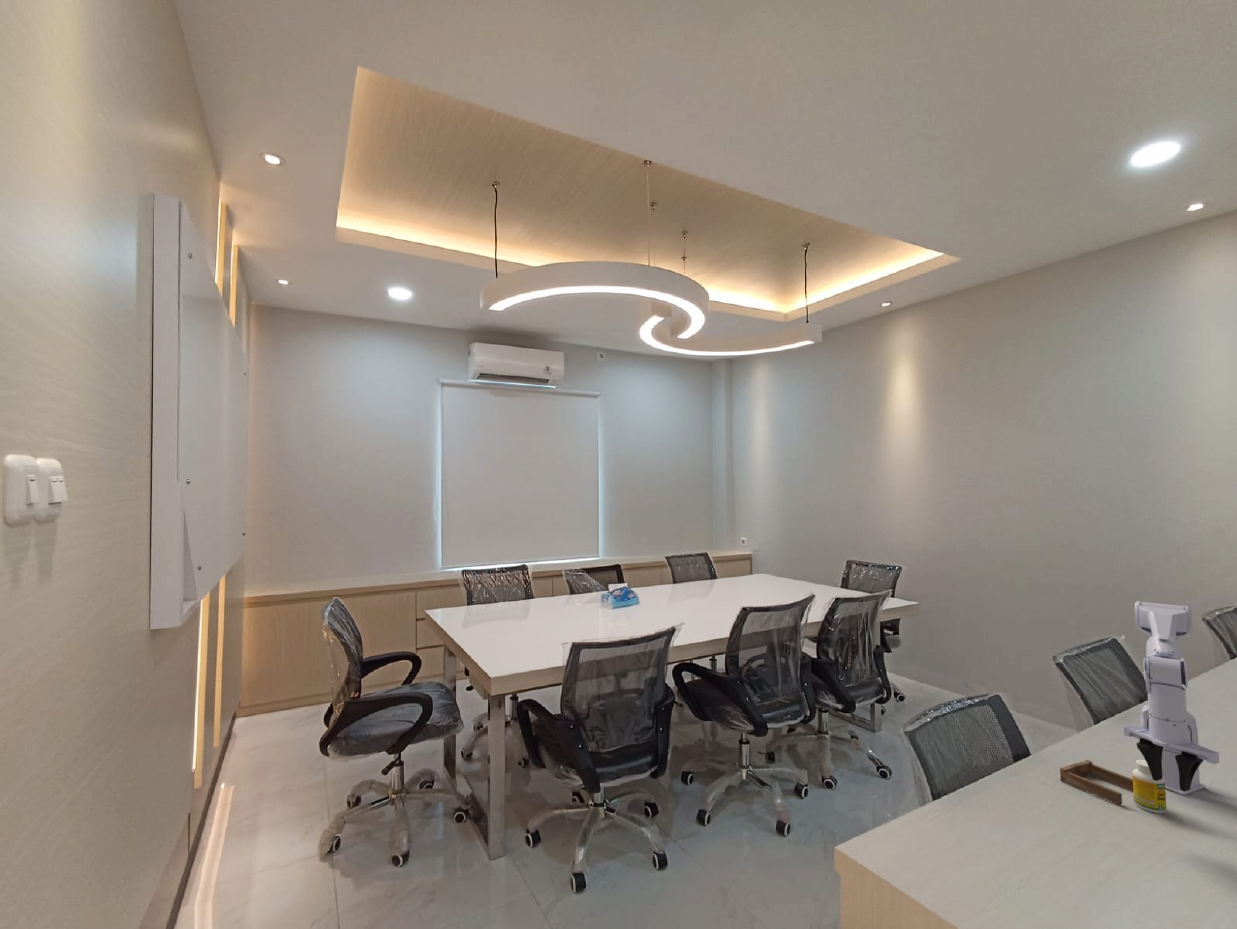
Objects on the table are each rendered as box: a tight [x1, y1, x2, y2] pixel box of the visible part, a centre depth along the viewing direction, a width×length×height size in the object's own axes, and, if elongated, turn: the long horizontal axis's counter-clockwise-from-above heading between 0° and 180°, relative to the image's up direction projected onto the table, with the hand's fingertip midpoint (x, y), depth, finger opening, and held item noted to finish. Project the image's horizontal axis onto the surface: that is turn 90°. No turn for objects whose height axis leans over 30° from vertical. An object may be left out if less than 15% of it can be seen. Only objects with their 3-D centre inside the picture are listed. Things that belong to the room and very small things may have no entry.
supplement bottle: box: [1132, 759, 1167, 814], centre depth 127 cm, size 5×5×10 cm
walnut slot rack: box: [1059, 759, 1133, 806], centre depth 135 cm, size 11×12×3 cm
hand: (1171, 784), depth 116 cm, fingers open, 4 cm apart
